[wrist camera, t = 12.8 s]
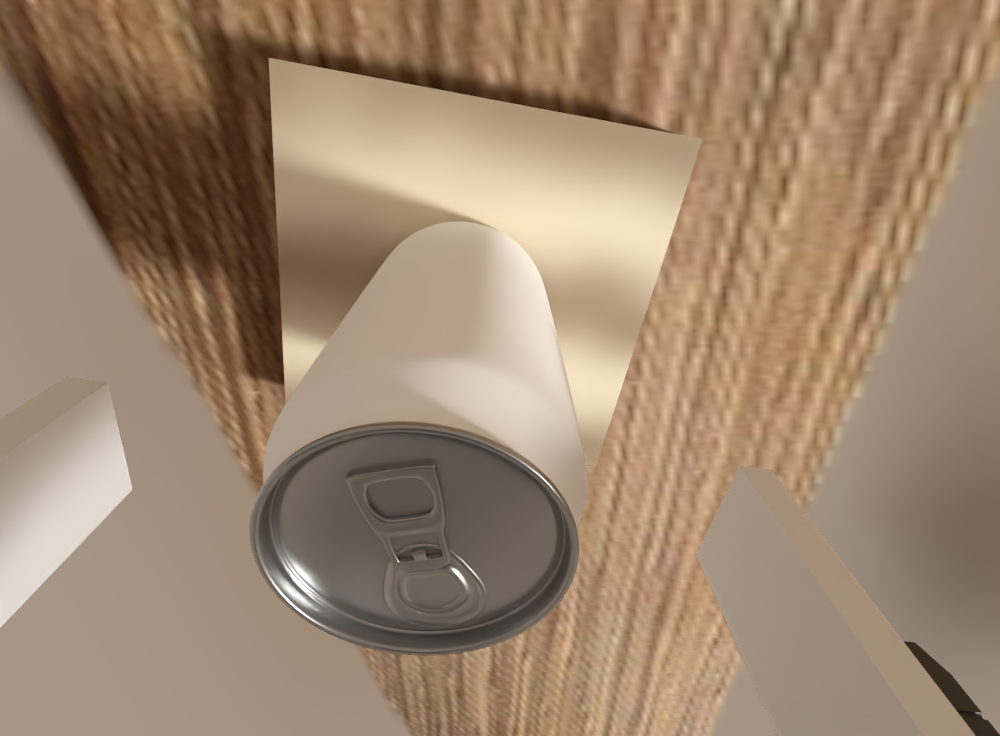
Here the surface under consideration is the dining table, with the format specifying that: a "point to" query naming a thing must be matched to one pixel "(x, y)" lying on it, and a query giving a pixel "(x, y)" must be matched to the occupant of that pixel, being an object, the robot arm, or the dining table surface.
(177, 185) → the dining table surface
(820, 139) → the dining table surface
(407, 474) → the can
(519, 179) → the riser
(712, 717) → the dining table surface
